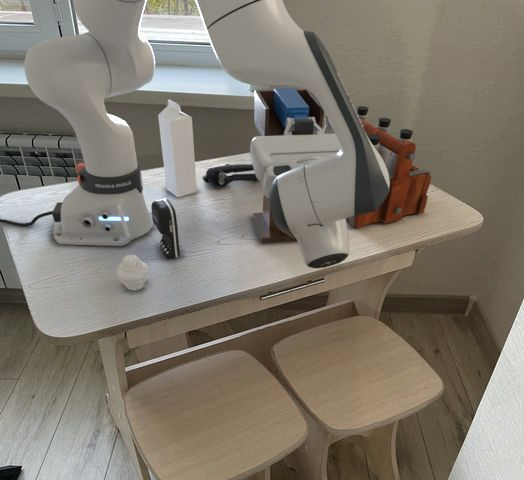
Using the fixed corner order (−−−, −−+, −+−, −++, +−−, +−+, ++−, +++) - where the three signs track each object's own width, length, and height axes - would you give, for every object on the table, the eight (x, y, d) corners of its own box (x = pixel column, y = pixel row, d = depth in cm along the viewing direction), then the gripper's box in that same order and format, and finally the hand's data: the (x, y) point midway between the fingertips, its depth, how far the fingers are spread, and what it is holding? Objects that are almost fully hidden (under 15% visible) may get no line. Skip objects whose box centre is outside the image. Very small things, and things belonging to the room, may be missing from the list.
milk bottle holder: (360, 234, 117) (375, 153, 104) (290, 176, 140) (295, 103, 127) (430, 217, 124) (452, 139, 111) (352, 165, 147) (363, 94, 134)
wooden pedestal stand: (261, 243, 113) (265, 108, 93) (252, 218, 122) (254, 90, 102) (310, 240, 115) (324, 107, 95) (298, 215, 123) (309, 88, 104)
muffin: (118, 296, 97) (112, 266, 92) (120, 278, 102) (114, 248, 97) (151, 293, 98) (146, 263, 93) (150, 276, 102) (146, 246, 98)
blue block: (293, 142, 90) (294, 118, 87) (273, 109, 104) (274, 88, 101) (315, 142, 91) (317, 118, 88) (292, 109, 104) (294, 87, 101)
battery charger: (154, 245, 111) (148, 198, 103) (171, 242, 112) (165, 194, 105) (164, 261, 107) (157, 212, 99) (181, 257, 108) (176, 209, 100)
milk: (177, 197, 129) (168, 107, 114) (166, 189, 132) (155, 100, 117) (197, 191, 131) (191, 103, 116) (185, 183, 135) (178, 96, 120)
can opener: (209, 193, 131) (208, 172, 127) (200, 182, 136) (199, 162, 132) (270, 183, 137) (271, 162, 133) (260, 173, 141) (260, 153, 137)
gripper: (373, 169, 87) (357, 105, 91) (258, 174, 84) (247, 108, 88) (362, 190, 93) (348, 130, 97) (254, 196, 90) (244, 133, 93)
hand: (299, 119), depth 92 cm, fingers closed on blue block, 2 cm apart
